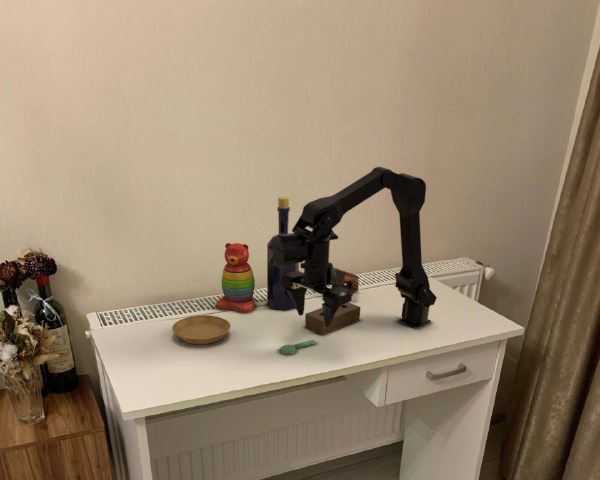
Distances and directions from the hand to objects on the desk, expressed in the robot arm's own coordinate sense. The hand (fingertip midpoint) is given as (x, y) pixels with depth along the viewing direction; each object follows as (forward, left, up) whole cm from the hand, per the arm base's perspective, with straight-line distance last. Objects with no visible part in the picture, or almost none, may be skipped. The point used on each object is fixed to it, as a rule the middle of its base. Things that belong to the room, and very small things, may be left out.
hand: (314, 320), depth 150 cm
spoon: (+1, -1, -6) cm, 6 cm away
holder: (+6, -13, -7) cm, 16 cm away
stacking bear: (+33, -2, -7) cm, 34 cm away
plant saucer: (+23, +18, -7) cm, 30 cm away
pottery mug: (+18, -31, -7) cm, 37 cm away
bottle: (+25, -12, -7) cm, 29 cm away
